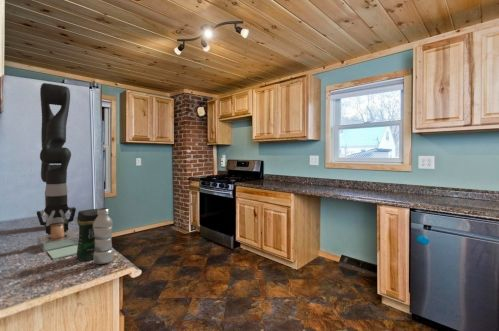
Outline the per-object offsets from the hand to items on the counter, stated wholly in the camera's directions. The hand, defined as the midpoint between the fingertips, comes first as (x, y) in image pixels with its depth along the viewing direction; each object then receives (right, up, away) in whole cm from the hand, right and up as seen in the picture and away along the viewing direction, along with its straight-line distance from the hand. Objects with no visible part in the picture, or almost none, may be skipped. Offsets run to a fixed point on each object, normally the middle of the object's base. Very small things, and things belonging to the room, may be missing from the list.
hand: (57, 232), depth 113 cm
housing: (0, -5, +1) cm, 5 cm away
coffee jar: (+22, -7, -11) cm, 25 cm away
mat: (+9, -6, -8) cm, 13 cm away
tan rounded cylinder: (0, -5, 0) cm, 5 cm away
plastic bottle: (+29, -7, -16) cm, 34 cm away
